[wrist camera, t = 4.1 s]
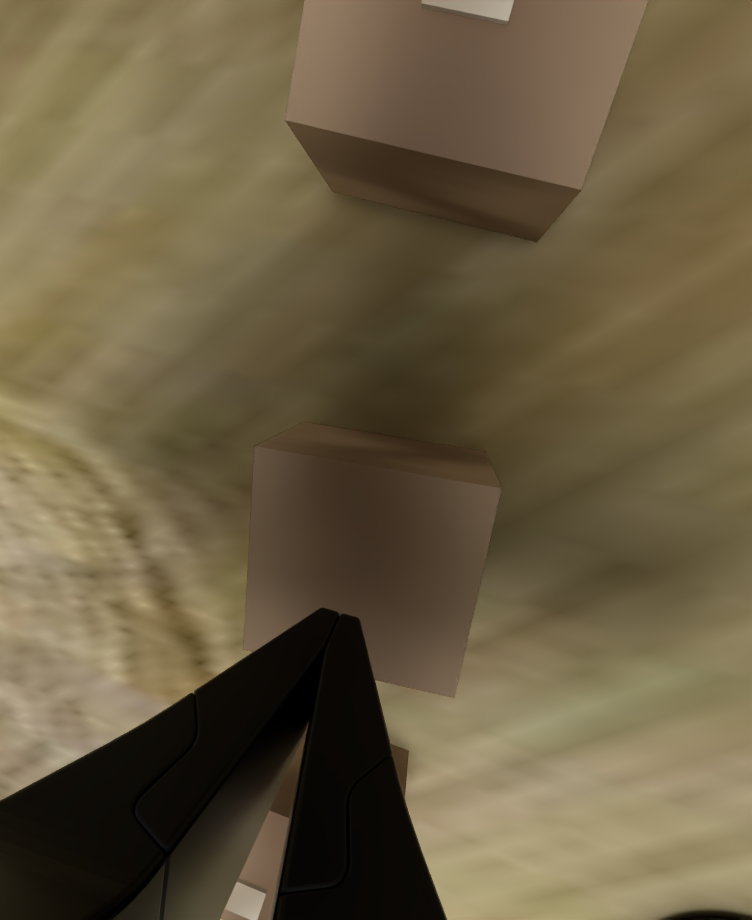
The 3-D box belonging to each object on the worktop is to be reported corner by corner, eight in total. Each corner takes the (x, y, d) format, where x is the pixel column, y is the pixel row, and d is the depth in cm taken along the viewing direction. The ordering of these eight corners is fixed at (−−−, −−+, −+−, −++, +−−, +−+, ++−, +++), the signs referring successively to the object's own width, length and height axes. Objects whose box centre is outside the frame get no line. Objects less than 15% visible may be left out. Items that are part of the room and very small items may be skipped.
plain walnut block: (484, 449, 13) (501, 488, 10) (451, 610, 15) (454, 698, 11) (305, 421, 14) (254, 446, 10) (291, 577, 16) (243, 649, 12)
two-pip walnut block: (408, 746, 17) (398, 866, 13) (367, 844, 18) (346, 977, 15) (271, 693, 17) (220, 794, 13) (242, 794, 19) (190, 909, 15)
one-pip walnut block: (624, -22, 10) (742, -263, 6) (535, 243, 12) (583, 188, 8) (387, -68, 11) (355, -320, 7) (334, 193, 12) (282, 117, 8)
